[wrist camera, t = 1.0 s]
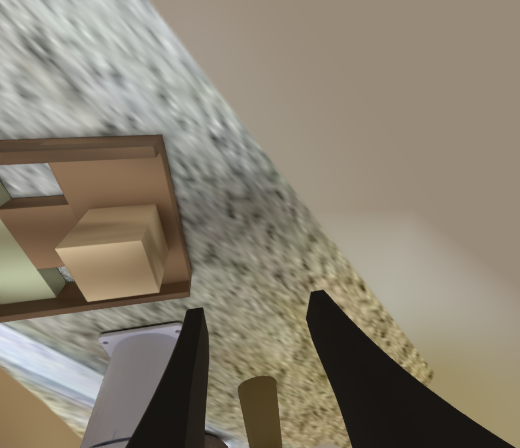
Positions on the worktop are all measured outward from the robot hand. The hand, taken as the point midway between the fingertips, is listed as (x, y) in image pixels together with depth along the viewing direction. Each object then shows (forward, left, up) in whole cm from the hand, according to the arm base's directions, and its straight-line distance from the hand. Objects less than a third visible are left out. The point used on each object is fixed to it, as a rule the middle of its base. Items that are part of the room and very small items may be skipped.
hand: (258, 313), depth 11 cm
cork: (-31, -1, -10) cm, 33 cm away
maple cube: (0, +8, -8) cm, 11 cm away
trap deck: (0, +12, -9) cm, 15 cm away
